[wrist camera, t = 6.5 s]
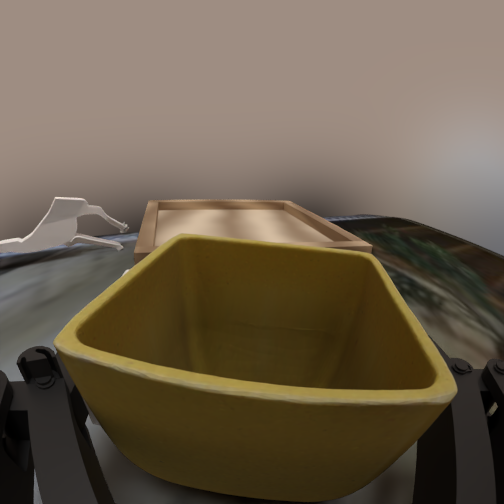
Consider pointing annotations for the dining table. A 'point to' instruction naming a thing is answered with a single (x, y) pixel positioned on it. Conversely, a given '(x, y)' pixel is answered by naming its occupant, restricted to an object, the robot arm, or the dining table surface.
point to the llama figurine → (61, 228)
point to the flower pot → (257, 367)
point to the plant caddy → (240, 224)
